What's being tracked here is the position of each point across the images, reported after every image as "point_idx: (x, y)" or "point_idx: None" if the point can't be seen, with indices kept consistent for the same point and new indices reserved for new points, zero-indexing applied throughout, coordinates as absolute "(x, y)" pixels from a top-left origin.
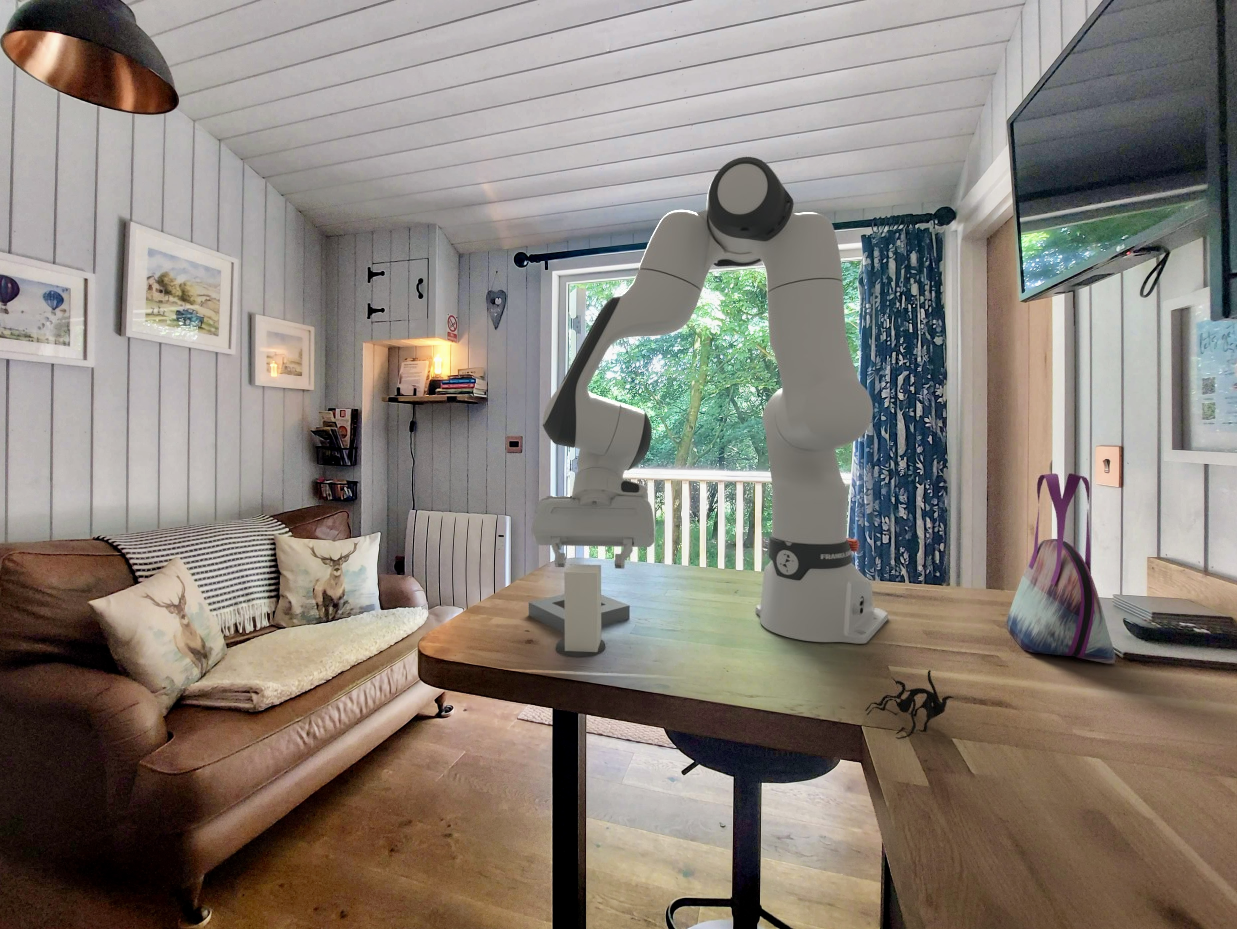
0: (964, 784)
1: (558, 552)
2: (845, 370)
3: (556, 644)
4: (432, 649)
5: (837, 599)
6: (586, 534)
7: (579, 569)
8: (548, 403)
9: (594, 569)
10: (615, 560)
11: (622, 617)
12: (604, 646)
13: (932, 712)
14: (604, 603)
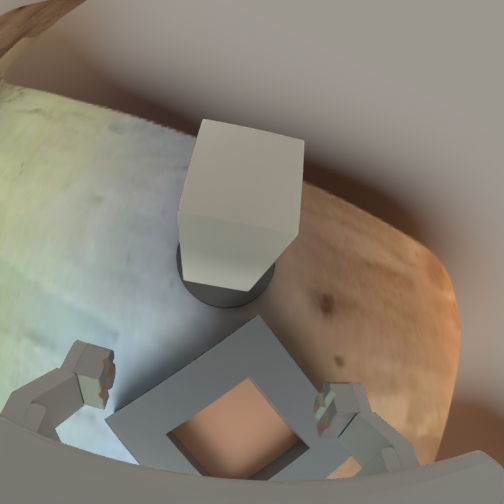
0: (6, 41)
1: (362, 413)
2: None
3: (274, 262)
4: (447, 277)
5: None
6: (255, 481)
7: (259, 160)
8: None
9: (207, 153)
10: (105, 353)
11: (127, 404)
12: (179, 243)
13: None
14: (170, 442)
